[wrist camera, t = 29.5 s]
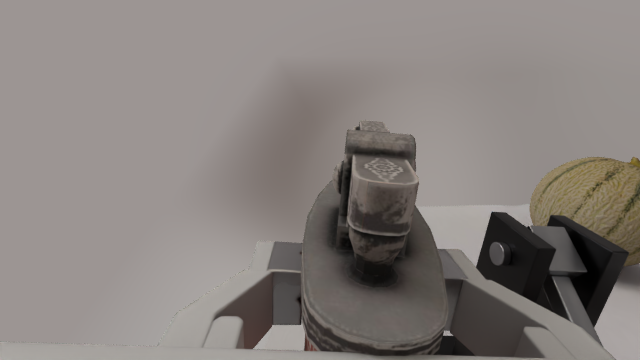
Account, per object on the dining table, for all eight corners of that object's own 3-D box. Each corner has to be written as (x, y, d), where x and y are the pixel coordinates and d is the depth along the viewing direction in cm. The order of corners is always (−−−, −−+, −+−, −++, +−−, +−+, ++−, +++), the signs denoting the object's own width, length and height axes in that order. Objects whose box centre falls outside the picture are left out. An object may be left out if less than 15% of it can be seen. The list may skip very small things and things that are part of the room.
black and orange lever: (600, 490, 18) (727, 289, 13) (471, 488, 18) (551, 282, 13) (502, 347, 28) (554, 199, 23) (416, 344, 27) (450, 194, 22)
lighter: (411, 603, 7) (549, 199, 4) (266, 573, 7) (270, 172, 4) (381, 326, 14) (417, 116, 11) (312, 317, 15) (326, 109, 11)
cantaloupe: (497, 240, 46) (525, 146, 41) (549, 225, 53) (579, 141, 48) (619, 305, 34) (680, 181, 29) (668, 274, 41) (725, 169, 36)
